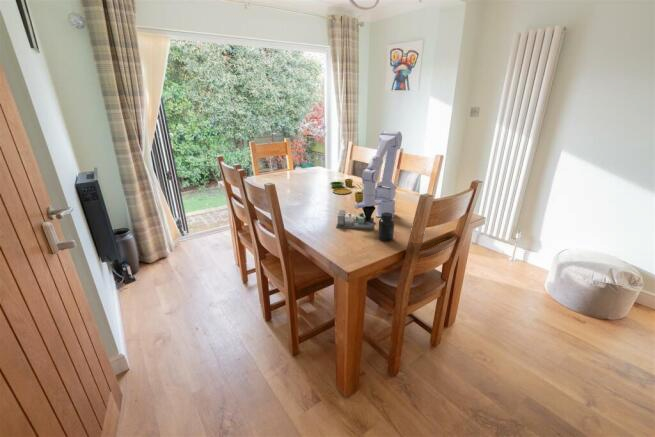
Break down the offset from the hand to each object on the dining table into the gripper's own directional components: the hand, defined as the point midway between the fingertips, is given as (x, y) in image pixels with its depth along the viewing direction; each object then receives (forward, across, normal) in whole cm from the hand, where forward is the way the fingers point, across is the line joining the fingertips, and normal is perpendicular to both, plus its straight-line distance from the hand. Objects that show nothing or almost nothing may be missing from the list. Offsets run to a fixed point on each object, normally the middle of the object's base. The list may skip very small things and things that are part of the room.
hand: (367, 220), depth 147 cm
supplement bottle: (+3, 0, +16) cm, 17 cm away
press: (+3, +5, -4) cm, 7 cm away
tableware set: (+4, -21, -53) cm, 57 cm away
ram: (+2, +3, -2) cm, 4 cm away
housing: (+2, +8, -5) cm, 9 cm away
